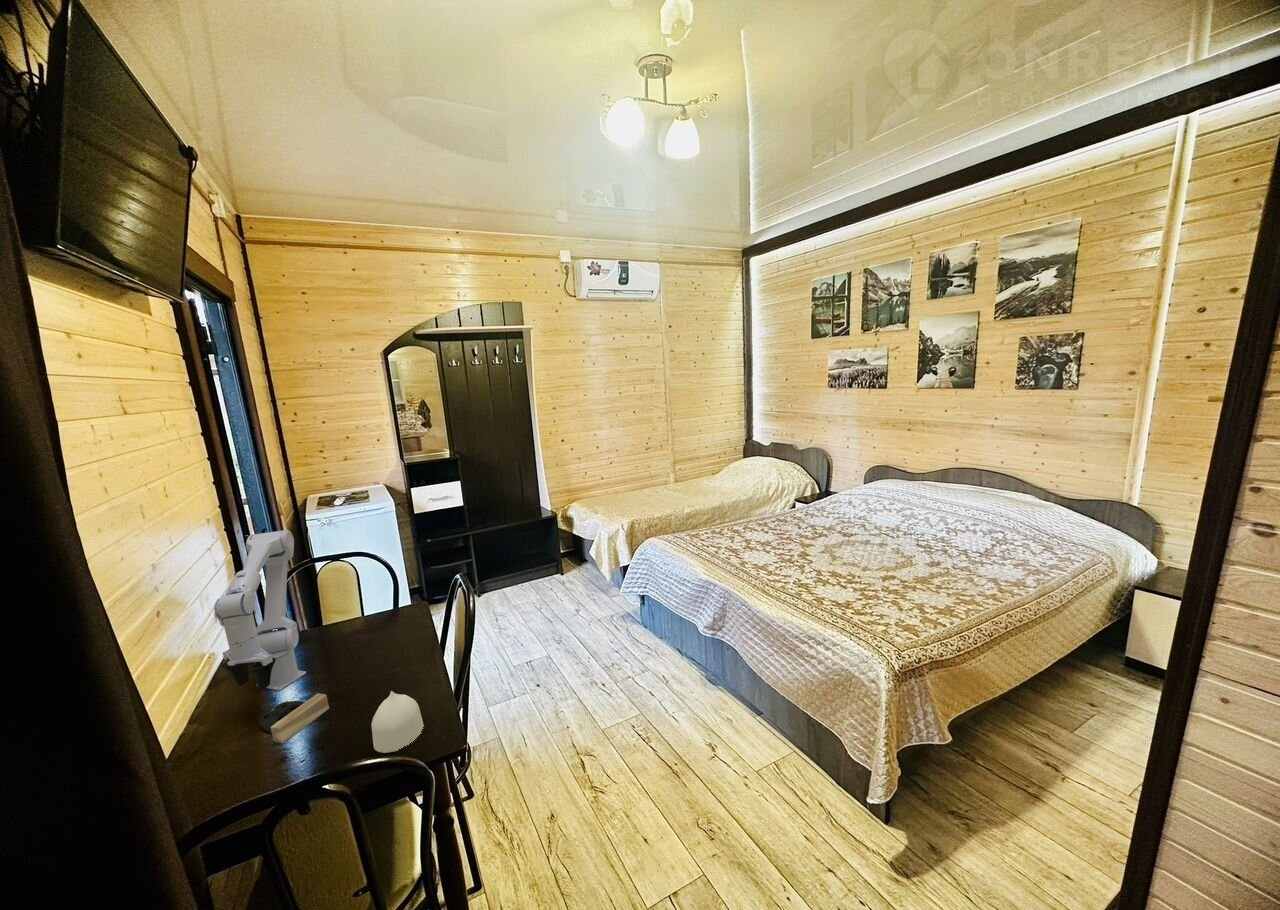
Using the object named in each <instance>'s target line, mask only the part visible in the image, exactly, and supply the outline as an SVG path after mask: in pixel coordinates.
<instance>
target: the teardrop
mask: <svg viewBox="0 0 1280 910" xmlns="http://www.w3.org/2000/svg"><path fill="white" fill-rule="evenodd" d="M423 721H424V720H423V718H422V713H421V710H420V707H419V704H418V703H417V701H416V700H415V699H414V698H412V697H410V696H409V695H406V694H399V693H396V692H394V691H393V690H390V693H389V696H388V697H387V698H384V700H383V701H382V702H381V704H380V705H379V706H378V708H377V710H376V711H375V714H374V715H373V717H372V721H371V732H372V735H371V736H372V744H373V749H374V750H375V751H376V752H378V753H384V754H386V753H392V752H397V751H399V749H400V750H401V748H402V749H404V748H405V747H404V746H406V747H407V745H408V746H409V744H410V743H411V742H412V743H414V742H415V741H416V740H417V739H418V738H419V737H420V736H421V735H420V734H422V732H421V731H423V730H424V728H425V725H424V722H423ZM423 727H424V728H423ZM422 729H423V730H422ZM419 735H420V736H419ZM418 736H419V737H418ZM417 737H418V738H417ZM416 738H417V739H416ZM415 739H416V740H415ZM414 740H415V741H414ZM413 741H414V742H413ZM412 743H411V744H412ZM411 744H410V745H411ZM403 747H404V748H403Z"/></svg>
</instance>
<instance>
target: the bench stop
mask: <svg viewBox="0 0 1280 910" xmlns="http://www.w3.org/2000/svg"><path fill="white" fill-rule="evenodd" d="M304 702H305V703H303V704H302V705H301V706H299V707H298V708H296V709H295V710H294V711H290V712H289V713H288V714H287V715H285V716H284V717H282V718H281V719H280V720H278V722H277V723H276V724H274V725H273V726H271V731H272V733H271V734H272V740H273V742H275V743H279V744H282V745H283V744H285V743H286V742H287V741H289V740H290V739H291V738H292V737H294V736H295V735H296V734H297V733H299V732H300V731H302V730H303V729H304V728H306V727H308V726H309V725H310V724H311V723H312V722H314V720H316V719H317V718H319V717H320V716H321V715H323V714H324V713H325V712H326V711H328V710H329V709H330V706H329V699H328V697H327V694H324V693H318V692H317V693H316V694H315V695H313V696H312V697H311V698H309V699H308V700H306V701H304Z"/></svg>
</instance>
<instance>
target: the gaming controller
mask: <svg viewBox="0 0 1280 910" xmlns="http://www.w3.org/2000/svg"><path fill="white" fill-rule="evenodd" d="M305 702H306V701H302V700H289V701H288V700H287V701H282V702H280V703H278V704H277V705H276V706H275V707H273V708H272V709H271V710H270V711H269V712H266V713H265V714H264V715H262V717H261V718H260V719H259V725H260V727H261V728H262V729H263V730H265V731H266V732H267V733H269V734H272V731H271V726H273V725H274V724H276V723H277V722H278V721H279V719H280V718H281V717H283V716H284V715H286V714H287V713H288V712H292V711H294V710H295V709H296V708H298V707H299V706H301V705H302V704H303V703H305Z"/></svg>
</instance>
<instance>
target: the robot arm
mask: <svg viewBox="0 0 1280 910" xmlns="http://www.w3.org/2000/svg"><path fill="white" fill-rule="evenodd" d="M245 546H246V547H245V548H246V551H247V553H248V555H247V557H246V560H245V563H244V566H243V568H242V570H240V571H238V572H236V573H235V575H234V576H233V579H232V580H231V582H230V584H229V585H228V586H229V587H228V588H227V590H226V593H225V594H224V595H221V596H220V597H219V598H217V599H216V601H215V602H214V607H213V608H214V609H213V610H214V612H213V614H214V616H215V617H214V618H216V619H217V620H218V621H219V624H220V625H219V626H221V627H224V632H225V635H226V639H227V640H226V641H227V645H228V649H227V650H225V651H223V652H222V655H223V656H222V657H223V660H225V662H224V663H222V664H221V668H222V669H223V670H225V671H226V672H227V673H228V674H229V675H230V676H231V677H232V679H233V680H234V681H235V684H236V685H238V687H241V686H244V685H245V684H247V683H248V682H249V681H250V675H252V677H253V679H254V681H255V684H256V687H258V689H259V691H263V690H264V689H270V690H275V691H281V690H282V689H284V688H286V687H288V686H289V685H290V684H292V683H294V682H295V681H297V680H298V679H300V678H302V677H303V676H304V675H306V674H307V671H306V670H305V671H304V670H299V669H298V664H297V659H296V655H295V649H296V647H297V646H298V643H299V636H300V635H299V631H298V624H297V622H296V621H294V620H293V619H291V618H288V617H287V616H286V615H287V614H286V612H287V590H288V589H287V588H288V587H287V586H288V584H287V582H288V581H287V580H288V578H287V577H288V564H289V563H288V562H289V561H290V560H291V559H292V558H294V550H295V547H294V546H295V539H294V536H293V533H292V532H291V531H290V530H289V529H284V530H283V529H282V530H277V531H276V530H275V531H270V532H264V533H262V532H261V533H257V534H256V533H253V534H250V535H248V536H247V538H246V543H245ZM264 566H266V573H265V576H266V577H265V594H264V597H265V598H264V615H263V616H264V617H263V621H262V622H261V623H260V624H258V625H256V621H255V617H254V613H253V611H254V610H255V608H256V599H257V593H256V592H257V591H258V588H259V585H260V583H261V581H262V579H263V577H262V574H261V573H260V572H261V570H262V569H263V567H264ZM249 663H255V664H254V665H252V666H251V667H249ZM249 674H250V675H249Z"/></svg>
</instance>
